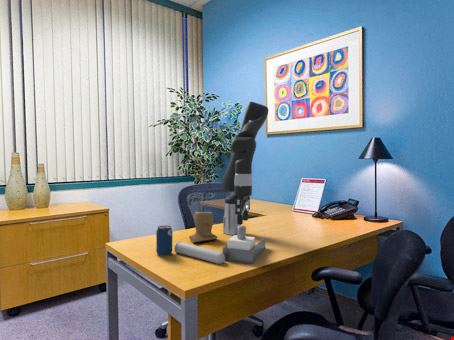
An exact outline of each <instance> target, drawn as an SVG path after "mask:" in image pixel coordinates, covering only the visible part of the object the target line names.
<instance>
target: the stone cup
mask: <svg viewBox="0 0 454 340" xmlns="http://www.w3.org/2000/svg"><path fill="white" fill-rule="evenodd" d="M193 222H194V225H195V228H194V229H195V233H194V234H191V235H189V237H188V239H189V240H190V241H191V243H200V242H206V241H212V240H216V239H218V238H219V237H218V236H217V235H215V234H213V232H212V230H213V225H214V213H213V212H212V211H195V212H194V215H193Z"/></svg>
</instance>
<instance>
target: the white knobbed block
mask: <svg viewBox="0 0 454 340" xmlns="http://www.w3.org/2000/svg"><path fill="white" fill-rule="evenodd" d="M255 244H256V237H255V236H247V226H246V225H241V226H238V232H237V235H231V237H230V238H228V239H227V244H226V245H227V248H231V249H239V250H247V251H251V250H252V249H253V248H254V247H255Z"/></svg>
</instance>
